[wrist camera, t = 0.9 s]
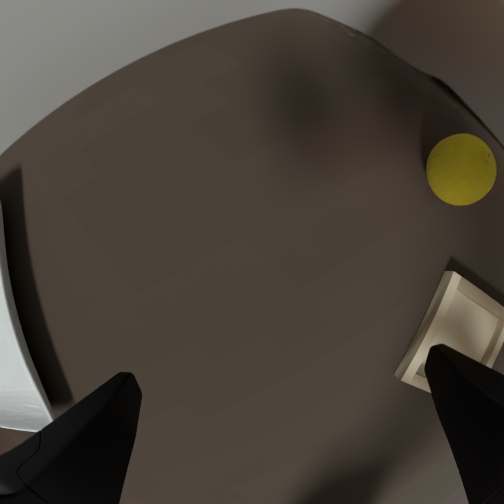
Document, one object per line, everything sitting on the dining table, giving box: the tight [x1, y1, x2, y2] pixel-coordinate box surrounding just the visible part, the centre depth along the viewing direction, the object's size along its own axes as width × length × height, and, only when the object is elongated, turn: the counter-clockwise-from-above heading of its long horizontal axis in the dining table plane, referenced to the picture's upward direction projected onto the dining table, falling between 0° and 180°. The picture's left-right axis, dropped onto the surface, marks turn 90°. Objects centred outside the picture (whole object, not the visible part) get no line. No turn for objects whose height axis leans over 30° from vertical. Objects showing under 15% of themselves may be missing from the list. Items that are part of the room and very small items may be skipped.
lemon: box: [426, 134, 496, 206], centre depth 19 cm, size 6×6×8 cm
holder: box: [394, 271, 504, 393], centre depth 21 cm, size 10×10×2 cm
